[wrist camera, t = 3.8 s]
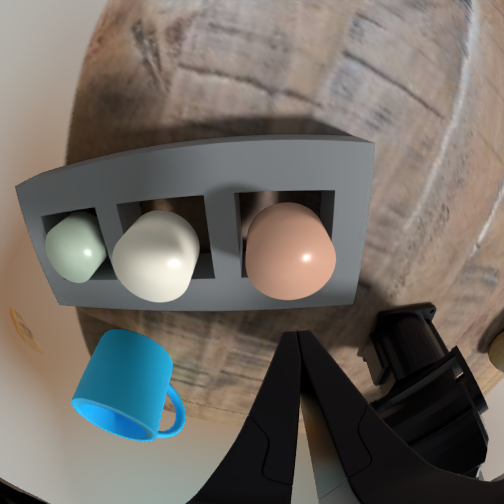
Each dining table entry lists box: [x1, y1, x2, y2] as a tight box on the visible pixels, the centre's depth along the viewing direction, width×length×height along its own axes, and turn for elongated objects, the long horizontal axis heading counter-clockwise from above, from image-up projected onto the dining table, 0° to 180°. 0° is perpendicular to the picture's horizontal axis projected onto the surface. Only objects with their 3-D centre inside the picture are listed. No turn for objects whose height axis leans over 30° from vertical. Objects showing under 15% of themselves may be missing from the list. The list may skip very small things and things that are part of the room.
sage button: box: [45, 211, 108, 283], centre depth 15 cm, size 4×4×2 cm
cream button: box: [112, 210, 200, 302], centre depth 13 cm, size 4×4×2 cm
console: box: [15, 134, 375, 311], centre depth 16 cm, size 22×10×3 cm, turn 93°
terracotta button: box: [246, 202, 336, 300], centre depth 13 cm, size 4×4×2 cm
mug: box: [72, 329, 185, 441], centre depth 22 cm, size 12×8×8 cm
